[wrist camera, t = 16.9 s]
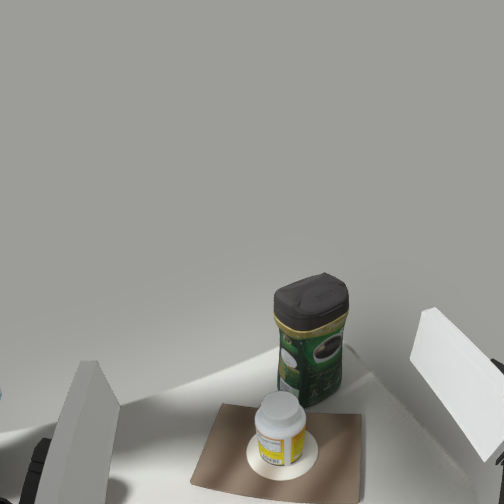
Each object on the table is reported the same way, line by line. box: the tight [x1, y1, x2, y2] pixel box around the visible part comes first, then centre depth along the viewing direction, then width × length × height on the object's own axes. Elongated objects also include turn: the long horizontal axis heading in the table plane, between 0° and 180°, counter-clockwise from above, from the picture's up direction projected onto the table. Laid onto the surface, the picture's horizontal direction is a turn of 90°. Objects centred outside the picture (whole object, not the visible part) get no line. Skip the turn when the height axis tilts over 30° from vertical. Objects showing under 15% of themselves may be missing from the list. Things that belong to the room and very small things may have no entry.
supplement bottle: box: [255, 391, 306, 467], centre depth 31 cm, size 6×6×10 cm
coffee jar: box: [273, 273, 349, 407], centre depth 41 cm, size 10×8×19 cm
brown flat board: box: [190, 403, 361, 504], centre depth 33 cm, size 20×14×1 cm
